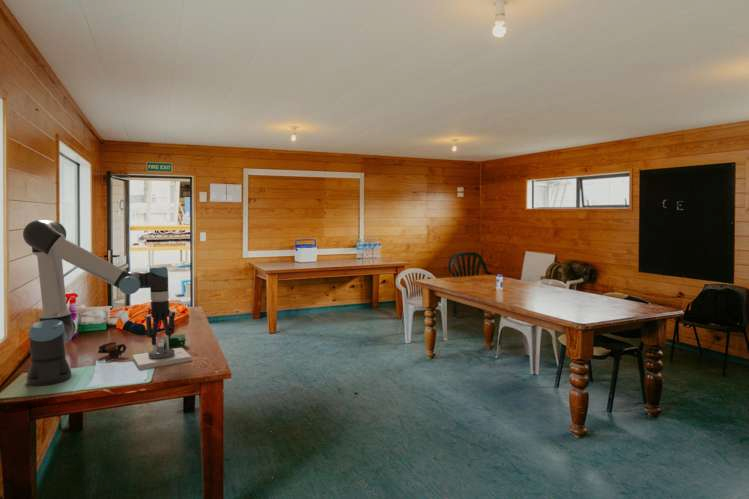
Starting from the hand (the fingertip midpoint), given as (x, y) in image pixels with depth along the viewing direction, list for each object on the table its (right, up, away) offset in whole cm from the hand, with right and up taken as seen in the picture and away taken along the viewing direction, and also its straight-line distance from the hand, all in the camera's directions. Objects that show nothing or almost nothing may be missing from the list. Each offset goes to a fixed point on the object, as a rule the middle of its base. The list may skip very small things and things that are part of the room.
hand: (161, 350), depth 222 cm
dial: (0, -2, 0) cm, 2 cm away
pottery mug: (-25, -5, +4) cm, 26 cm away
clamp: (-3, -3, +21) cm, 21 cm away
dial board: (0, -5, +1) cm, 5 cm away
